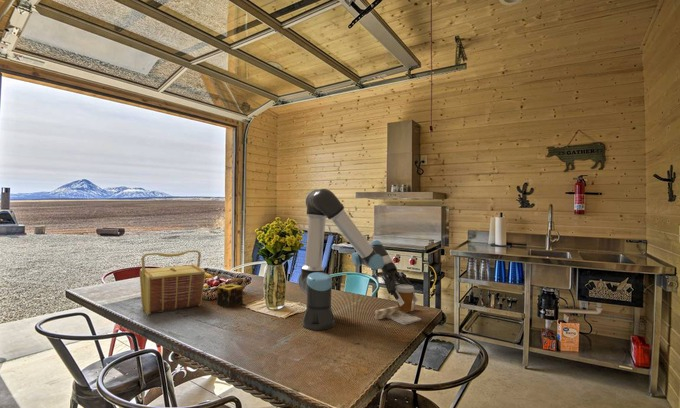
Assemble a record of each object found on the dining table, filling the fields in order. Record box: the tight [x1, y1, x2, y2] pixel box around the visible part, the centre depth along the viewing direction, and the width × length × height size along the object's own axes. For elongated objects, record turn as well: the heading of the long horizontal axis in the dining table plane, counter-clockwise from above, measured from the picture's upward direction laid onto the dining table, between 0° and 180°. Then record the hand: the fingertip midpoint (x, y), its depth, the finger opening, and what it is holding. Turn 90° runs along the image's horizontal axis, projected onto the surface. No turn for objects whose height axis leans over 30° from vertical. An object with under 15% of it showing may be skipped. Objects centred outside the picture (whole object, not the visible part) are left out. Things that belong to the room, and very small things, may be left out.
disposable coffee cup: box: [395, 283, 415, 313], centre depth 163 cm, size 10×10×12 cm
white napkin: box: [386, 312, 422, 326], centre depth 163 cm, size 12×12×1 cm
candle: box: [216, 283, 244, 308], centre depth 183 cm, size 10×10×10 cm
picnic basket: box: [139, 249, 206, 315], centre depth 175 cm, size 29×26×30 cm
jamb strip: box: [374, 301, 416, 320], centre depth 170 cm, size 28×2×4 cm, turn 126°
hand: (409, 302), depth 161 cm, fingers closed on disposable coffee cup, 9 cm apart
